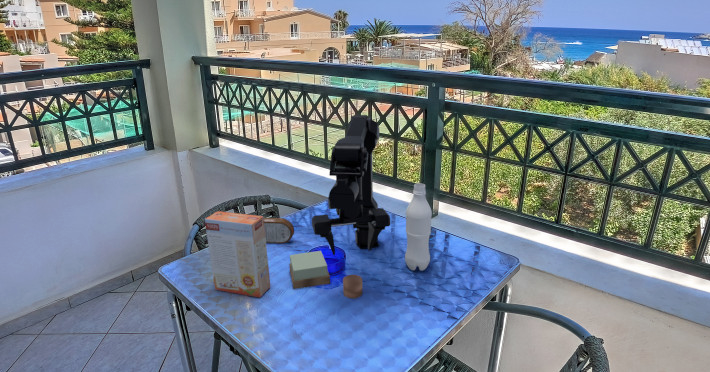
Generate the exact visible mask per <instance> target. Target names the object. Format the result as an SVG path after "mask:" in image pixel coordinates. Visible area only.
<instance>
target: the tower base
mask: <svg viewBox="0 0 710 372" xmlns="http://www.w3.org/2000/svg"><path fill="white" fill-rule="evenodd" d="M288 266H289V273H290V279H291V284H292V289H293V290H297V289H303V288H304V287H305V288H311V287H319V286H324V285H330V284H331V275H330V272H329V270H328V269H327V271H328V276H321V277H315V278H309V279H302V280H296V281H294V277H293V273H292V269H291V265H290V262H289V264H288Z"/></svg>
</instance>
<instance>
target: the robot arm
mask: <svg viewBox="0 0 710 372" xmlns="http://www.w3.org/2000/svg"><path fill="white" fill-rule="evenodd" d="M379 139H380V126H379V122H376V121H375V120H373V119H372V118H371V116H370V115H367V114H353V115H351V116H350V121H349V122H348V129H347V132H346V134H345V136H344V137H342V138H339V139H338V140H337V141H336V143H335V144H334V146H332V149H331V153H330V154H331V156H330V167H329V174H328V175H329V176H330V177H332V176H333V177H335V179H336V180H335V182H334V185H333V186H332V187H331V189H330V190H329V193H328V197H327V203H328V204H327V205H328V209H329V210H335V212H336V215H337V216H339V217H336V218H330V217H329V216H328V214H319V215H318V214H317V215H313V216H312V217H311V226H312V230H313V232H314V235H316V236H319V237H320V238H325V240H326V242H327V243H328V245H329V247H330V250H331V252H332V255H333V256H335V255H336V248H335V247H336V246H335V240H334V234H333V232H332V228H334V227H341V226H343V227H344V226H348V225H349V226H350V225H352V229H355V230H354V231H355V232H354V237H355V240H354V241H355V244H356V245H357V246H358V247H359V249H360V250H363V249H368V251H372V249H373V248H379V247H380V245H381V244H380V243H379V235H380V234H381V232H382V231H385V230H386V228H387V227H390V226H391V216H390V214H389V213H388V212H387V211H386V210H385V208H383V207H380V208H379V204H378V202H377V201H376V199H375V198H374V195H373V194H374V193H373V190H374V189H373V185H374V184H373V151H375V149H376V146H377V144H378V140H379Z"/></svg>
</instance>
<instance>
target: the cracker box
mask: <svg viewBox="0 0 710 372" xmlns="http://www.w3.org/2000/svg"><path fill="white" fill-rule="evenodd" d="M263 218H264V216H263V215H255V214H247V213H237V212H227V211H221V210H218V211H215V212H214V213H213V214H211V215H209V216H208V217H206V218H204V223H205V224H204V225H205V232H206V238H207V243H208V245H207V246H208V250H209V258H210V263H211V264H210V266H211V269H212V270H211V272H212V276H213V277H212V278H213V284H214V289H215V290H217V291H221V292H222V291H223V292H227V293H233V294H238V295H242V296H249V297H253V298H261V297H262V296H263V295H264V294H265V293H267V291H268V290H269V289H270V288H271V279H270V268H269V258H268V251H267V250H268V248H267V243H266V238H265V229H264V219H263Z"/></svg>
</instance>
